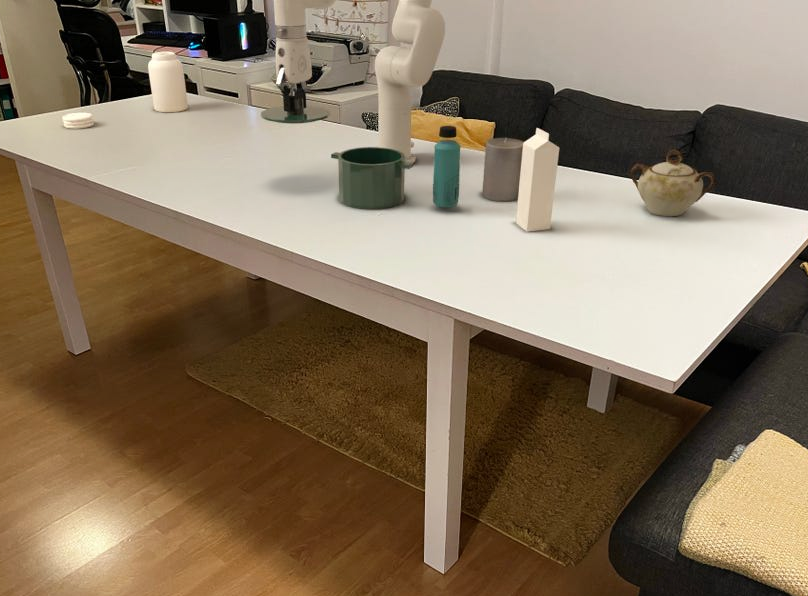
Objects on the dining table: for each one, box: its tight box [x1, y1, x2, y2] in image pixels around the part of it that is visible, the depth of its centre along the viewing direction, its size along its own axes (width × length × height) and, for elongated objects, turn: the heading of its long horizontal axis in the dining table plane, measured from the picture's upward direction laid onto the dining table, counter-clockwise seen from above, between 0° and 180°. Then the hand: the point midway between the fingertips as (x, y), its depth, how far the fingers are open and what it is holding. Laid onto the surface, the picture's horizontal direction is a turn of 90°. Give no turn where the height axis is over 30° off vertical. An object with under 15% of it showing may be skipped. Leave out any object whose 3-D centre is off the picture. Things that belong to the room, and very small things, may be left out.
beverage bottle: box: [432, 125, 461, 208], centre depth 180 cm, size 6×7×20 cm
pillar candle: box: [481, 136, 525, 202], centre depth 190 cm, size 10×10×15 cm
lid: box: [260, 97, 331, 125], centre depth 192 cm, size 18×18×5 cm
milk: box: [515, 127, 560, 233], centre depth 169 cm, size 6×6×22 cm
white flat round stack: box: [61, 112, 95, 130], centre depth 259 cm, size 10×10×4 cm
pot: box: [330, 146, 414, 210], centre depth 189 cm, size 17×22×11 cm
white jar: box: [147, 51, 189, 113], centre depth 277 cm, size 12×12×20 cm
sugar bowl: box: [629, 149, 716, 217], centre depth 180 cm, size 20×15×15 cm
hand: (295, 108), depth 193 cm, fingers closed on lid, 4 cm apart
